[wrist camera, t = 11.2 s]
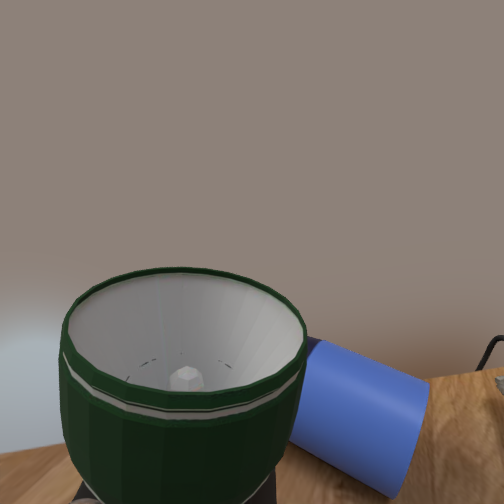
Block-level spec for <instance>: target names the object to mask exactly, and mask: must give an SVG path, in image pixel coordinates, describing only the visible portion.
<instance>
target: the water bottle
mask: <svg viewBox="0 0 504 504" xmlns="http://www.w3.org/2000/svg"><path fill="white" fill-rule="evenodd" d="M307 340H308V353H307V367H306V372H305V377H304V382H303V387H302V392H301V398H300V403H299V408H298V412H297V416H296V419H295V423H294V426H293V430H292V434H291V436H290V439H289V441H290V442H292V443H294V444H295V445H297V446H299V447H301V448H302V449H304V450H306V451H307V452H309V453H311V454H313V455H314V456H316V457H318V458H320V459H321V460H323V461H325V462H327V463H328V464H330V465H332V466H334V467H336V468H337V469H339V470H341V471H343V472H344V473H346V474H348V475H350V476H351V477H353V478H355V479H357V480H359V481H360V482H362V483H364V484H366V485H367V486H369V487H371V488H373V489H374V490H376V491H378V492H380V493H382V494H383V495H385V496H387V497H389V498H390V499H392V500H394V499H395V498H396V496H397V494H398V492H399V490H400V488H401V486H402V483H403V481H404V478H405V476H406V473H407V470H408V468H409V465H410V462H411V459H412V456H413V453H414V449H415V446H416V443H417V440H418V436H419V433H420V429H421V426H422V422H423V418H424V414H425V410H426V405H427V400H428V395H429V383H427V382H425V381H422V380H420V379H417V378H415V377H413V376H410V375H408V374H406V373H403V372H401V371H398V370H396V369H394V368H391V367H389V366H386V365H384V364H382V363H379V362H377V361H374V360H372V359H370V358H367V357H365V356H362V355H360V354H357V353H355V352H353V351H350V350H348V349H345V348H342V347H340V346H338V345H335V344H333V343H330V342H328V341H326V340H320V339H316V338H313V337H309V336H307Z"/></svg>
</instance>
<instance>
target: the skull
mask: <svg viewBox="0 0 504 504" xmlns="http://www.w3.org/2000/svg"><path fill="white" fill-rule="evenodd" d="M495 382H496V383H497V385H496V386H497V388H498V389H499V391H500V392H501V393H502V394H503V395H504V376H499V377H496V378H495Z"/></svg>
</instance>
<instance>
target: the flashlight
mask: <svg viewBox="0 0 504 504" xmlns="http://www.w3.org/2000/svg"><path fill="white" fill-rule="evenodd" d="M307 353H308V340H307V329H306V325H305V323H304V321H303V319H302V317H301V315H300V313H299V311H298V310H297V309H296V308H295V307H294V306H293V305H292V303H291V302H290V301H289V300H288V299H286V297H284V296H282V295H281V294H279V293H278V292H276V291H275V290H273V289H271V288H270V287H268V286H266V285H264V284H261V283H259V282H257V281H254V280H252V279H250V278H247V277H243V276H240V275H236V274H233V273H229V272H224V271H218V270H213V269H207V268H192V267H164V268H163V267H162V268H153V269H146V270H139V271H134V272H130V273H127V274H123V275H119V276H116V277H113V278H110V279H108V280H106V281H104V282H102V283H100V284H97V285H95V286H93V287H92V288H90V289H89V290H88V291H86V292H85V293H84V294H82V295H81V296H80V297H79V298H77V299H76V300H75V302H74V303H73V305H72V306H71V308H70V309H69V311H68V312H67V314H66V316H65V318H64V321H63V324H62V331H61V340H60V351H59V359H58V360H59V388H60V389H59V390H60V413H61V421H62V428H63V436H64V439H65V442H66V445H67V448H68V451H69V454H70V457H71V461H72V462H73V464H74V466H75V467H76V469H77V470H78V472H79V473H80V475H81V477H82V478H83V480H84V482H85V485H86V486H87V487H88V488H89V490H90V491H91V492H92V493H93V494H94V496H95V497H96V498H97V499H98V500H99V501H100V502H101V503H102V504H244V503H245V502H246V501H247V500H248V499H249V498H251V497H252V496H253V495H254V494H255V493H256V492H257V491H258V489H259V488H260V487H261V486H262V485H263V483H264V482H265V481H266V480H267V478H268V476H269V474H270V473H271V471H272V470H273V469H274V467H275V466H276V465H277V463H278V462H279V461H280V459H281V458H282V457H283V454H284V451H285V449H286V446H287V444H288V441H289V439H290V436H291V434H292V430H293V426H294V423H295V419H296V416H297V412H298V408H299V403H300V398H301V392H302V387H303V382H304V377H305V372H306V367H307Z"/></svg>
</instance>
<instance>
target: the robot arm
mask: <svg viewBox="0 0 504 504" xmlns="http://www.w3.org/2000/svg"><path fill="white" fill-rule="evenodd" d="M499 341H504V335H498V336H496V337H494V338H493V339H492V340H491V341H490V343H489V344H488V346H487V348H486V351H485V353H484V355H483V357H482V359H481V361H480V362H479V365H478V366H477V368H476V370H475V372H476V371H481V370H482V369H483V368H484V366H485V364H486V362H487V361H488V359H489V357H490V355H491V352H492V350H493V348H494V347H495V345H496V343H497V342H499ZM69 504H102V503H101V502H100V501H99V500H98V499H97V498H96V497H95V496H94V494H93V493H92V492H91V491H90V490H89V488H88V487H87V486H86V485H85V482H84V480H83V481H82V483H81V486H80V488H79V490H78V492H77V494H76V495H75V497H74V499H73V500H72V502H71V503H69ZM244 504H277V501H276V475H275V467H274V469H273V470H272V471H271V473H270V474H269V476H268V478H267V480H266V481H265V482H264V483H263V485H262V486H261V487H260V488H259V489H258V491H257V492H256V493H255V494H254V495H253V496H252V497H251V498H249V499H248V500H247V501H246V502H245V503H244Z"/></svg>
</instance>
